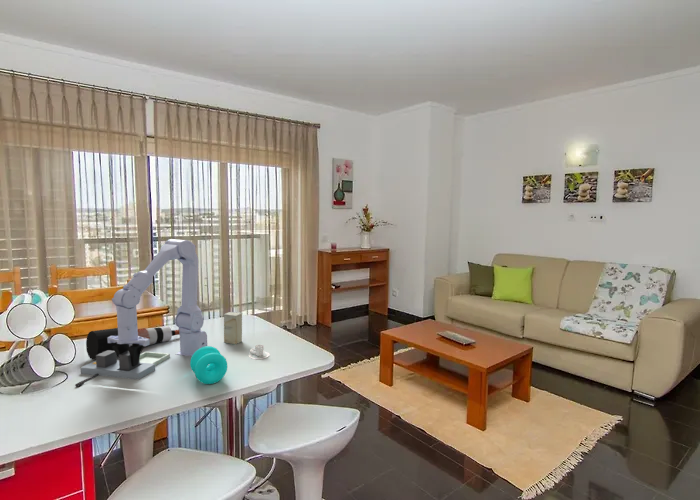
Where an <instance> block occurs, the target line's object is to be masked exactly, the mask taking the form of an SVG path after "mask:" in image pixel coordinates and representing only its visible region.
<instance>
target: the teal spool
mask: <svg viewBox="0 0 700 500" xmlns="http://www.w3.org/2000/svg"><path fill="white" fill-rule="evenodd" d="M189 366H190V368H191V371H192V372H193V373H194V374H195V377H196V379H197V381H199V383H202V384H204V385H214V384H216V383H218V382H220V380H222V379H223V378H224V376H225V375H226V373H227V371H228V361H227V359H226V357H224V355H222V354H221V352H220V351H219V350H218V348H216V347H214V346H210V345H207V346H205V347H202V348H200V349H198V350H197V351H196V352H195V353H194V354H193V355H192V356H190V364H189Z"/></svg>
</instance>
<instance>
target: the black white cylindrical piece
mask: <svg viewBox="0 0 700 500" xmlns="http://www.w3.org/2000/svg"><path fill="white" fill-rule="evenodd" d="M110 336H118V327H115V328H106V329H105V328H104V329H98V330H90V331H89V332H88V334H87V337H86V342H85V344H86V346H85V347H86V353H87V355H88V357H89V359H91V360H96V355H98V354H100V353H102V352H105V351H107V350H111V351H114V350H113V348H112V346H114V345H115V343H108V339H107V338H108V337H110ZM138 336H140V337H143V338H147V339H149V341H150V344H149V345H148V346H150V345H154V344H160V343H166V342H170V341H171V339H172V337H174V336H180V333H179V329H171V328H170V326H161V327H158V326H157V327H149V328H138ZM130 346H132V344H129V347H130Z"/></svg>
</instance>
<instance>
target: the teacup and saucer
mask: <svg viewBox="0 0 700 500" xmlns="http://www.w3.org/2000/svg"><path fill="white" fill-rule="evenodd" d="M264 349H265V348H264V344H257V345H255V346H254V347H252V348H250V349H249V354H248V358H249V359H251V360H264V359H267V358H269V357H270V356H271V353H270V352H268V351H265V350H264ZM264 354H265V355H266V356H264V357H263V355H264ZM253 355H256V357H253Z"/></svg>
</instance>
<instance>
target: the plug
mask: <svg viewBox="0 0 700 500" xmlns="http://www.w3.org/2000/svg"><path fill="white" fill-rule="evenodd" d="M118 360H119V367H120V370H121V371H131V370H132V369H134V368H136V367H138V366H140V360H139V362H138V365H136V366H134V367H133V366H132V364H131V357H130V353H129V351H126V352H124V353H122V354H120V355H119V357H118Z"/></svg>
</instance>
